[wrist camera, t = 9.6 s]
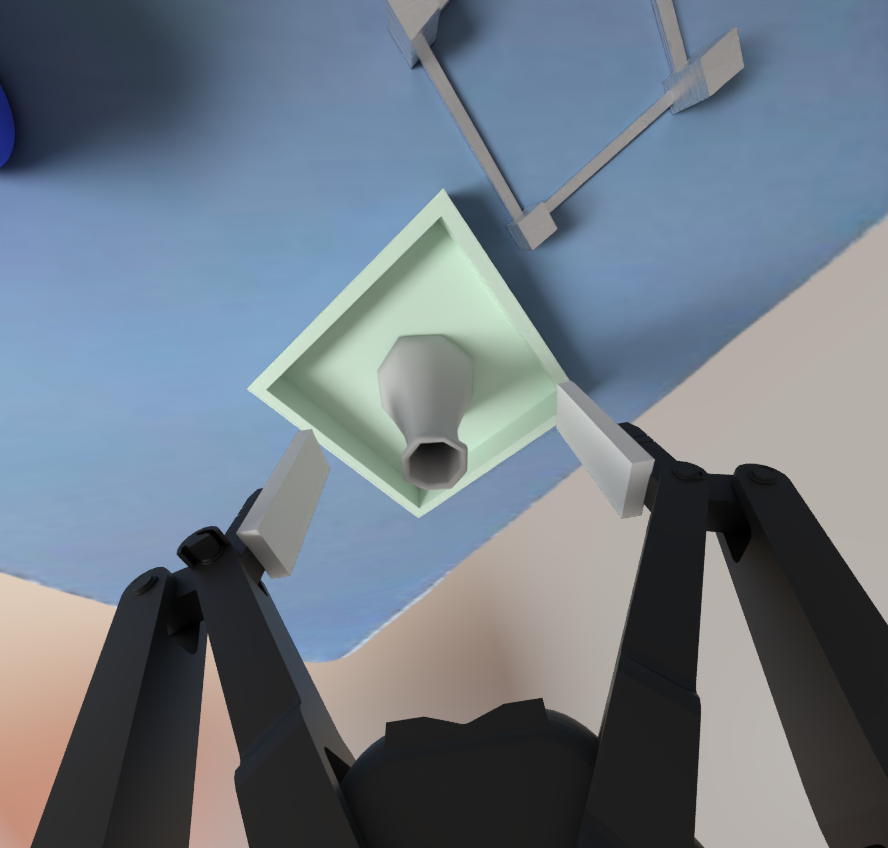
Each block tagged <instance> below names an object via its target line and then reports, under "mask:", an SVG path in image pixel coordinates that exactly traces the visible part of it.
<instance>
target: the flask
mask: <svg viewBox="0 0 888 848" xmlns="http://www.w3.org/2000/svg"><path fill="white" fill-rule="evenodd" d="M473 371H474V358H473V357H472V356H470V355H469V354H467V353H466V352H464V351H463V350H462V349H460V348H459V347H457V346H456V345H454V344H453V343H452V342H450V341H449V340H447V339H446V338H444V337H443V336H442V335H434V336H411V337H398V339H397V340H396V342H395V343H394V345H393V346H392V348H391V350H390V351H389V353H388V354H387V356H386V357H385V359H384V361H383V362H382V364H381V365H380V367H379V368H378V370H377V375H378V382H379V389H380V397H381V404H382V408H383V409H384V411H385V412H386V413H387V414H388V415H389V417H390V418H391V419H392V420H393V421H394V423H395V424H396V425H397V427H398V428H399V430H400V431H401V432H402V434H403V435H404V437H405V440H406V443H407V447H406V449H405V450H404V451H403V453H402V455H401V460H402V469H403V478H404V480H405V481H407V482H409V483H411V484H413V485H415V486H417V487H419V488H422V489H424V490H439V489H452V488H453V487H454V485H455V484H456V483H457V482H458V481H459V480H460V479H461V478H462V477H463V475H464V474H465V473H466V472H467V464H468V447H467V445H466V444H464V443H463V442H461V441H459V438H458V428H459V425H460V423H461V420H462V418H463V415H464V413H465V410H466V408H467V406H468V404H469V402H470V400H471V398H472V396H473Z"/></svg>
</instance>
